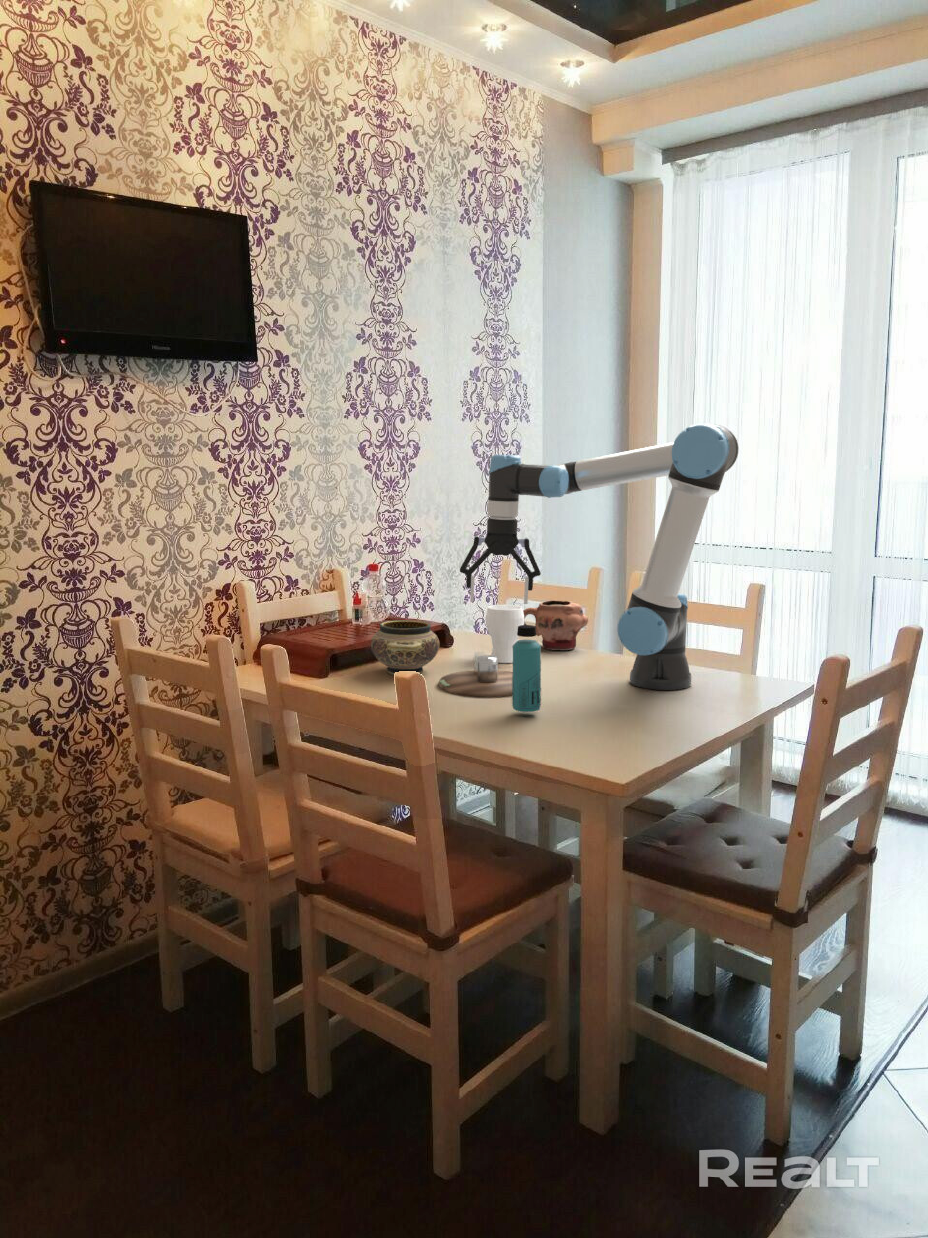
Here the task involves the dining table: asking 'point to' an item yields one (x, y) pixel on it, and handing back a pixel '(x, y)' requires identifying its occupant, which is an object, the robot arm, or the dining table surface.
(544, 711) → the dining table surface
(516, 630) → the cup
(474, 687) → the round wooden board
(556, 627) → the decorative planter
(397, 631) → the ceramic bowl
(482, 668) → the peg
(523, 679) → the beverage bottle
